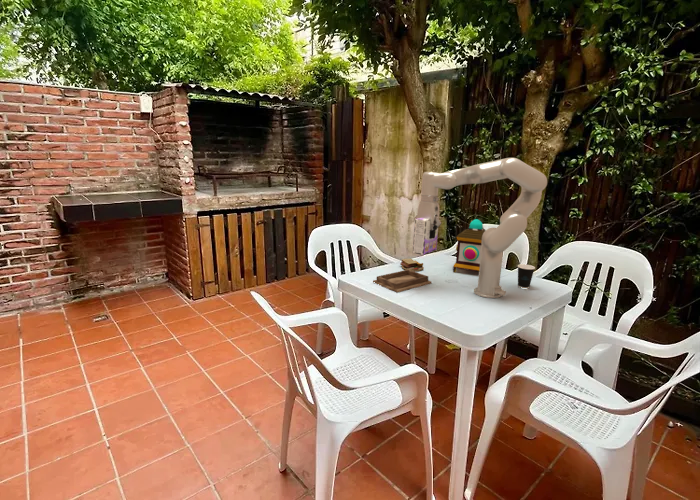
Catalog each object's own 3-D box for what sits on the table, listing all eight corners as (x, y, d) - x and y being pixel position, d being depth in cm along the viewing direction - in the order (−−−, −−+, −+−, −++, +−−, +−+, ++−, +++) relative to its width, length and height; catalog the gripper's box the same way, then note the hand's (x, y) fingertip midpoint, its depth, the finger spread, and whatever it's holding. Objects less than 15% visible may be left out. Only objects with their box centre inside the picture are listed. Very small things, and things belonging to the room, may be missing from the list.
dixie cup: (525, 284, 190) (528, 263, 187) (535, 289, 182) (538, 268, 179) (511, 285, 188) (514, 264, 185) (521, 290, 180) (524, 269, 178)
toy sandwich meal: (409, 273, 206) (409, 265, 205) (396, 266, 218) (397, 259, 217) (427, 270, 211) (428, 262, 210) (415, 264, 223) (415, 257, 222)
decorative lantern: (486, 278, 198) (492, 223, 191) (449, 272, 207) (454, 219, 200) (492, 269, 215) (498, 218, 208) (458, 264, 224) (463, 215, 217)
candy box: (425, 248, 184) (428, 215, 180) (436, 250, 180) (439, 216, 177) (412, 253, 174) (414, 218, 170) (423, 255, 170) (426, 219, 166)
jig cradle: (431, 283, 189) (432, 276, 188) (397, 292, 175) (397, 285, 174) (406, 274, 203) (406, 268, 202) (372, 282, 189) (373, 275, 188)
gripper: (449, 200, 167) (445, 239, 171) (420, 196, 180) (417, 232, 184) (438, 201, 162) (434, 241, 166) (409, 197, 175) (407, 234, 180)
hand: (425, 236), depth 175 cm, fingers closed on candy box, 6 cm apart
